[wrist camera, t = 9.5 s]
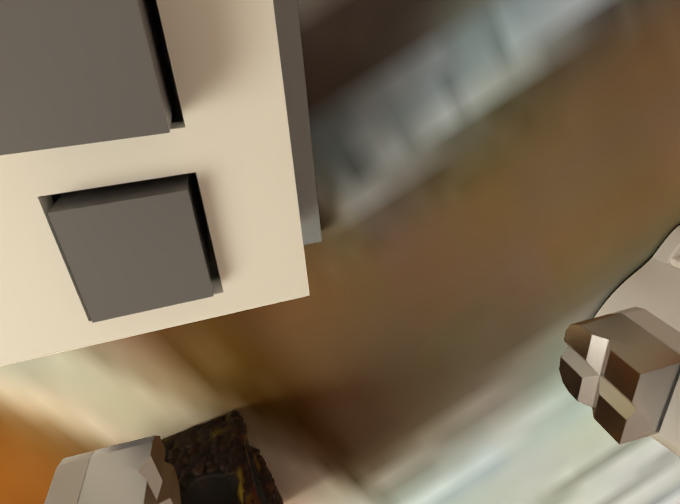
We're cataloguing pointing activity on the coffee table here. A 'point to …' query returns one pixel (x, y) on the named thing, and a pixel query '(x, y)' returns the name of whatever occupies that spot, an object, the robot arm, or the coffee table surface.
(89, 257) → the switch
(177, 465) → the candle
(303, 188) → the switch unit
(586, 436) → the coffee table surface
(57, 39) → the switch
